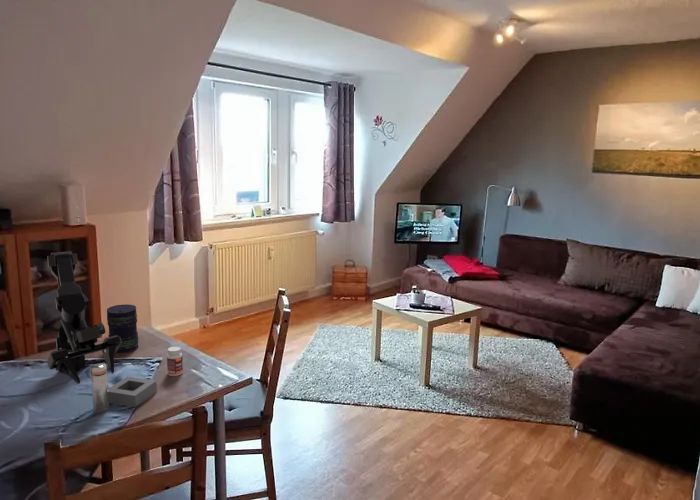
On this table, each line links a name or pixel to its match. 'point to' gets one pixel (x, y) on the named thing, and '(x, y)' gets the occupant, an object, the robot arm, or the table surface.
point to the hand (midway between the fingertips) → (96, 377)
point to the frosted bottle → (99, 388)
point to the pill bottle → (174, 361)
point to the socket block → (131, 391)
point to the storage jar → (123, 326)
